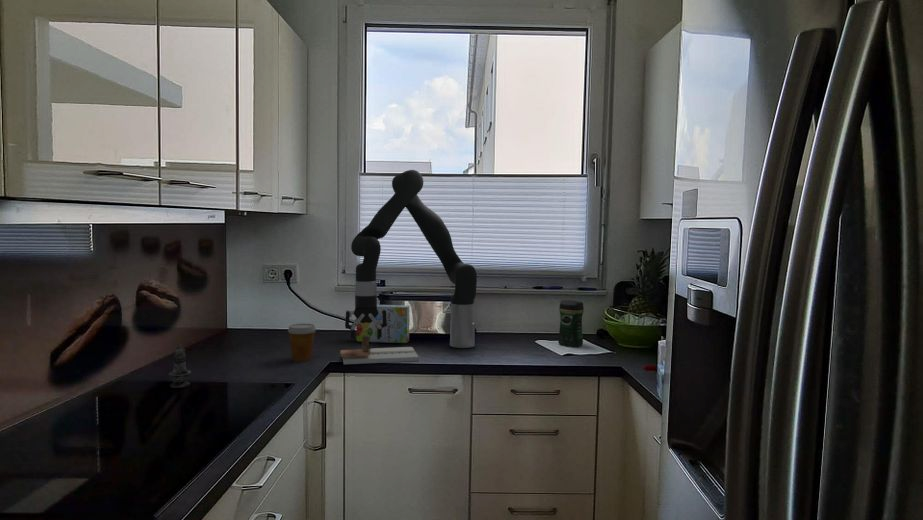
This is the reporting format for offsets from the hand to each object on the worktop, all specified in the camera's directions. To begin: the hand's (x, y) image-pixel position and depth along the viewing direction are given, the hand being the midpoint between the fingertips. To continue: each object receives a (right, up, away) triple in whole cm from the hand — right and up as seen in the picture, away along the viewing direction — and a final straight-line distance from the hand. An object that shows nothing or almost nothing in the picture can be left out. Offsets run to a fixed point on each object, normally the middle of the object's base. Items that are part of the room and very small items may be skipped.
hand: (366, 339), depth 182 cm
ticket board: (+4, -7, +5) cm, 10 cm away
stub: (-4, -5, 0) cm, 6 cm away
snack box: (+1, -6, +33) cm, 33 cm away
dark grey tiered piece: (-49, -9, -31) cm, 58 cm away
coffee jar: (+79, -7, +33) cm, 85 cm away
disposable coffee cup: (-23, -7, +1) cm, 24 cm away
